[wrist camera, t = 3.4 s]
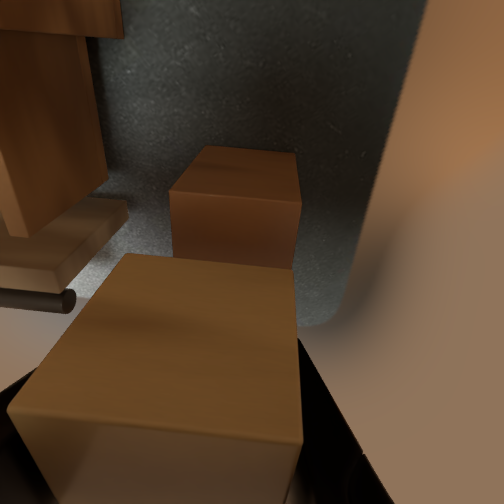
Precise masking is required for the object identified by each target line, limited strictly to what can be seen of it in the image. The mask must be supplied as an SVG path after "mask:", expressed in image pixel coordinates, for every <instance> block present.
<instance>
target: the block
mask: <svg viewBox="0 0 504 504" xmlns="http://www.w3.org/2000/svg"><path fill="white" fill-rule="evenodd" d="M7 413H8V415H9V417H10V419H11V420H12V422H13V424H14V426H15V427H16V429H17V431H18V433H19V435H20V436H21V438H22V440H23V442H24V443H25V445H26V447H27V449H28V450H29V452H30V454H31V456H32V458H33V459H34V461H35V463H36V465H37V466H38V468H39V470H40V472H41V474H42V475H43V477H44V479H45V481H46V482H47V484H48V486H49V488H50V489H51V491H52V493H53V495H54V497H55V498H56V500H57V502H58V504H285V503H286V500H287V497H288V493H289V490H290V486H291V483H292V479H293V476H294V472H295V469H296V465H297V462H298V458H299V455H300V451H301V448H302V445H303V426H302V409H301V392H300V375H299V358H298V340H297V323H296V306H295V289H294V273H293V271H292V270H290V269H282V268H272V267H262V266H252V265H242V264H232V263H222V262H212V261H203V260H193V259H183V258H173V257H163V256H153V255H143V254H134V253H126V254H125V255H124V256H123V257H122V258H121V260H120V261H119V262H118V264H117V265H116V266H115V268H114V269H113V270H112V271H111V273H110V274H109V275H108V277H107V278H106V279H105V280H104V282H103V283H102V284H101V286H100V287H99V288H98V290H97V291H96V292H95V293H94V295H93V296H92V297H91V299H90V300H89V301H88V303H87V304H86V305H85V307H84V308H83V309H82V310H81V312H80V313H79V314H78V316H77V317H76V318H75V319H74V321H73V322H72V323H71V325H70V326H69V327H68V328H67V330H66V331H65V332H64V334H63V335H62V336H61V338H60V339H59V340H58V341H57V343H56V344H55V345H54V347H53V348H52V349H51V351H50V352H49V353H48V354H47V356H46V357H45V358H44V360H43V361H42V362H41V363H40V365H39V366H38V367H37V369H36V370H35V371H34V373H33V374H32V375H31V376H30V378H29V379H28V380H27V382H26V383H25V384H24V386H23V387H22V388H21V389H20V391H19V392H18V393H17V395H16V396H15V397H14V398H13V400H12V401H11V402H10V404H9V405H8V408H7Z"/></svg>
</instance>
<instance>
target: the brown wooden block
mask: <svg viewBox="0 0 504 504" xmlns="http://www.w3.org/2000/svg"><path fill="white" fill-rule="evenodd" d="M169 203H170V218H171V232H172V247H173V258H183V259H193V260H203V261H212V262H222V263H232V264H242V265H252V266H262V267H272V268H282V269H290V270H291V269H292V263H293V257H294V251H295V245H296V238H297V232H298V226H299V220H300V214H301V208H302V200H301V193H300V186H299V178H298V171H297V164H296V157H295V153H287V152H276V151H266V150H255V149H244V148H233V147H222V146H211V145H205V147H204V148H203V149H202V150H201V152H200V153H199V154H198V155H197V156H196V158H195V159H194V160H193V161H192V163H191V164H190V165H189V166H188V168H187V169H186V170H185V171H184V172H183V174H182V175H181V176H180V177H179V179H178V180H177V181H176V182H175V184H174V185H173V186H172V187H171V188H170V190H169Z"/></svg>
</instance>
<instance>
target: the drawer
mask: <svg viewBox="0 0 504 504" xmlns="http://www.w3.org/2000/svg"><path fill="white" fill-rule="evenodd" d="M108 179H109V177H108V171H107V165H106V159H105V153H104V147H103V141H102V135H101V129H100V123H99V117H98V111H97V105H96V99H95V93H94V87H93V82H92V76H91V70H90V64H89V58H88V52H87V46H86V40H85V36H76V35H63V34H51V33H39V32H27V31H15V30H3V29H0V307H6V308H15V309H24V310H33V311H43V312H52V313H61V314H68V313H70V312H71V311H72V310H73V308H74V306H75V304H76V292H75V291H74V290H73V289H68V288H66V287H67V286H68V285H69V283H70V282H71V281H72V280H73V279H74V278H75V277H76V276H77V275H78V274H79V272H80V271H81V270H82V269H83V268H84V267H85V266H86V265H87V264H88V263H89V262H90V260H91V259H92V258H93V257H94V256H95V255H96V254H97V253H98V252H99V251H100V250H101V248H102V247H103V246H104V245H105V244H106V243H107V242H108V241H109V240H110V239H111V238H112V236H113V235H114V234H115V233H116V232H117V231H118V230H119V229H120V228H121V227H122V226H123V224H124V223H125V222H126V221H127V220H128V219H129V214H128V207H127V201H126V200H116V199H106V198H95V197H86V196H87V195H88V194H90V193H91V192H92V191H94V190H95V189H96V188H98V187H99V186H101V185H102V184H103V183H104V182H106V181H107V180H108Z"/></svg>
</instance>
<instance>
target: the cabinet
mask: <svg viewBox="0 0 504 504" xmlns="http://www.w3.org/2000/svg"><path fill="white" fill-rule="evenodd" d="M0 29H3V30H15V31H27V32H39V33H51V34H63V35H76V36H88V37H100V38H112V39H124V33H123V25H122V16H121V7H120V0H0Z"/></svg>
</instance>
